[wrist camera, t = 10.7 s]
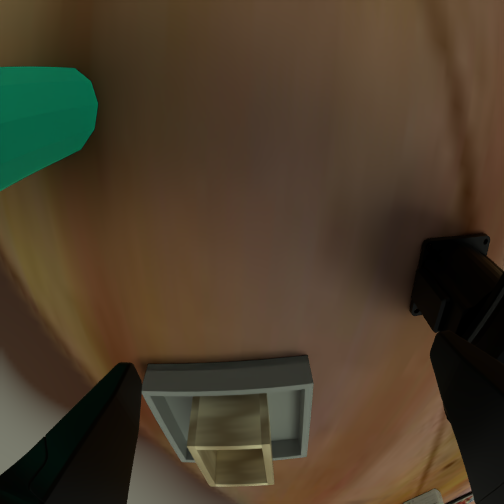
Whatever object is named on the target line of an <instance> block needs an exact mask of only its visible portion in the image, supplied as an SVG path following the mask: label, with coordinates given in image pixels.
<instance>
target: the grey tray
mask: <svg viewBox="0 0 504 504" xmlns="http://www.w3.org/2000/svg"><path fill="white" fill-rule="evenodd" d="M259 393H267V400H268V410H269V421H270V431H271V445H272V459H273V460H282V459H292V458H301V457H306V456H307V447H308V438H309V428H310V418H311V407H312V395H313V379H312V374H311V369H310V364H309V360H308V355H305V356H296V357H286V358H275V359H264V360H251V361H236V362H218V363H192V364H148V366H147V370H146V374H145V377H144V381H143V384H142V394H143V396H144V398H145V400H146V402H147V404H148V406H149V407H150V409H151V411H152V413H153V415H154V416H155V418H156V420H157V422H158V424H159V425H160V427H161V429H162V430H163V432H164V434H165V435H166V437H167V439H168V440H169V442H170V444H171V445H172V447H173V449H174V450H175V452H176V453H177V455H178V457H179V458H180V460H181V461H182V462H195V460H194V458H193V456H192V455H191V453H190V451H189V449H188V448H187V440H188V431H189V423H190V415H191V407H192V399H193V396H224V395H244V394H259Z"/></svg>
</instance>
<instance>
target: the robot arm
mask: <svg viewBox="0 0 504 504" xmlns="http://www.w3.org/2000/svg"><path fill="white" fill-rule="evenodd" d="M484 240H485V241H484ZM489 243H490V237H489V236H488V235H487V234H473V235H462V236H452V237H441V238H430V239H426V240H425V241H424V242H423V244H422V249H421V255H420V261H419V266H418V269H417V271H416V277H415V282H414V287H413V292H412V296H411V298H412V301H411V305H410V312H411V314H412V315H413V316H418V315H423V316H424V318H425V319H426V321H427V323H428V324H429V326H430V327H431V329H432V330H433V331H434V332H435V333H437V332H438V333H437V334H436V336H435V339H434V342H433V345H432V348H431V351H430V359H431V363H432V366H433V369H434V373H435V376H436V380H437V384H438V387H439V391H440V394H441V398H442V401H443V407H444V410H445V414H446V416H447V419H448V421H449V422H450V423H451V426H452V428H453V431H454V434H455V437H456V440H457V443H458V446H459V449H460V452H461V455H462V459H463V462H464V465H465V468H466V472H467V475H468V479H469V482H470V486H471V490H472V493H473V497H474V501H475V503H476V504H504V271H503V270H502V269H501V268H499V267H498V266H497V265H496V264H495V263H494V262H493V261H492V260H491V259H490V258H488V257H487V256H486V255H487V251H488V247H489ZM430 244H431V245H430ZM429 245H430V247H429V248H428V246H429ZM415 309H416V310H415ZM141 395H142V382H141V379H140V377H139V375H138V373H137V371H136V369H135V367H134V365H133V364H132V363H127V362H120V363H118V364H117V365H116V366H115V367H114V368H113V369H112V370H111V371H110V372H109V373H108V374H107V375H106V376H105V377H104V378H103V379H102V380H100V381H99V382H98V383H97V384H96V385H95V386H94V387H93V388H92V389H91V390H90V391H89V392H88V393H87V394H86V395H85V396H84V397H83V398H82V399H81V400H80V401H79V402H78V403H77V404H76V405H75V406H74V407H73V408H72V409H71V410H70V411H69V412H68V413H67V414H66V415H65V416H64V417H63V418H62V419H61V420H60V421H59V422H58V423H57V424H56V425H55V426H54V427H53V428H52V429H51V430H50V431H49V432H48V433H47V434H46V436H45V437H43V438H42V439H41V440H40V441H39V442H38V443H37V444H36V445H35V446H34V447H33V448H32V449H31V450H30V451H29V452H28V453H27V454H25V455H24V456H23V457H22V458H21V459H20V460H18V461H17V462H16V463H15V464H14V465H12V466H11V467H10V468H9V469H7V470H6V471H5V472H4V473H3V474H1V475H0V504H127V498H128V491H129V485H130V484H129V483H130V478H131V472H132V466H133V460H134V454H135V448H136V443H137V438H138V431H139V420H140V407H141Z"/></svg>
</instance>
